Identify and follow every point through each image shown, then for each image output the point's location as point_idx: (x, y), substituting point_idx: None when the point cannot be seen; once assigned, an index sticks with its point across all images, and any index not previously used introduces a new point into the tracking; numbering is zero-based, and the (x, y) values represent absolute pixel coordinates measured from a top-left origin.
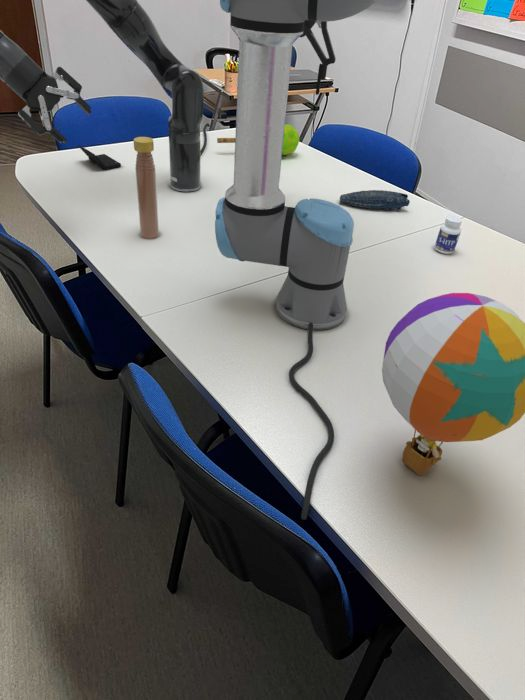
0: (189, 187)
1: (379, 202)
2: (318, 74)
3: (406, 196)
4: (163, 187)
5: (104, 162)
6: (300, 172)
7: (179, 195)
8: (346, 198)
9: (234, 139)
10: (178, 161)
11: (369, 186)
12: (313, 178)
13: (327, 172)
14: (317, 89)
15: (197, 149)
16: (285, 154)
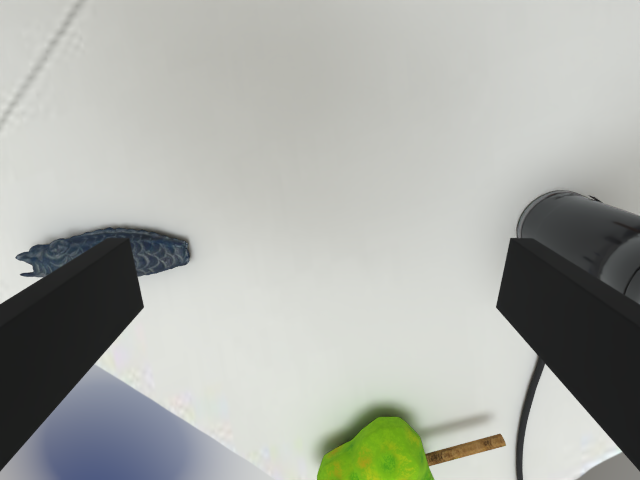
0: (548, 198)
1: (86, 238)
2: (16, 312)
3: (24, 273)
4: (605, 203)
5: None
6: (300, 377)
7: (565, 169)
8: (169, 245)
9: (464, 450)
10: (625, 211)
11: (143, 352)
12: (268, 356)
13: (243, 394)
14: (98, 252)
15: (591, 249)
16: (342, 444)
